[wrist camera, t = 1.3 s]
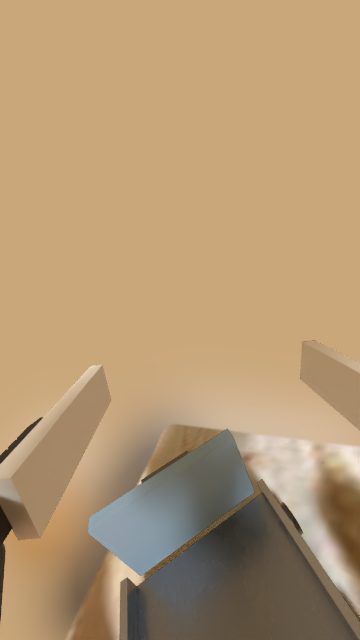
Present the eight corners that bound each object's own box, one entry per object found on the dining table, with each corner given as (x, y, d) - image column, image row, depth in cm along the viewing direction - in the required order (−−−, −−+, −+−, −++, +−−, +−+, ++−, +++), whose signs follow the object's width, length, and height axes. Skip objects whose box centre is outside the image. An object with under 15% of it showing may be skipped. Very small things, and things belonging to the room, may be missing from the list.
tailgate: (244, 475, 26) (223, 422, 22) (254, 492, 24) (233, 437, 20) (139, 549, 23) (91, 505, 19) (140, 576, 21) (87, 532, 17)
